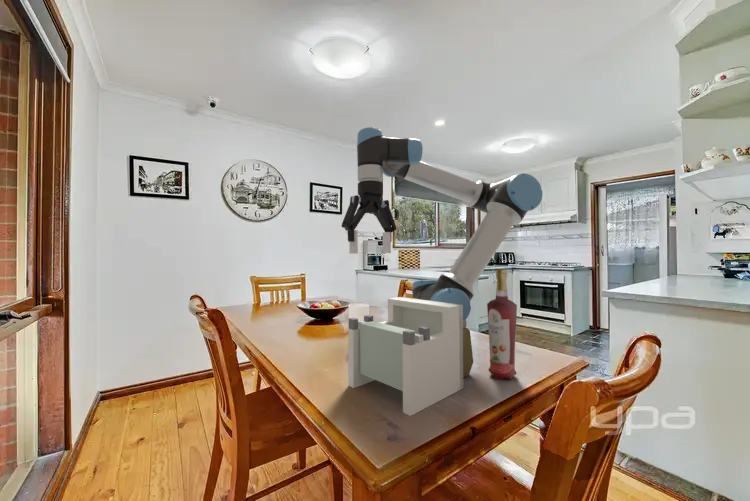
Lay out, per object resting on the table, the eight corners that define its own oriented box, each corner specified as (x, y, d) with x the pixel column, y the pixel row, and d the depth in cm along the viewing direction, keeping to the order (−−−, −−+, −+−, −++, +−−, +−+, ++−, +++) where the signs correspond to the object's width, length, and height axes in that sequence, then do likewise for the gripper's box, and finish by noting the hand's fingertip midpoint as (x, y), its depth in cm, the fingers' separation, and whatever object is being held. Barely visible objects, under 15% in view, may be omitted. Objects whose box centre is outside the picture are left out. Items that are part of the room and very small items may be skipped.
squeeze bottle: (436, 370, 88) (436, 305, 88) (460, 366, 91) (459, 303, 91) (454, 381, 80) (454, 310, 81) (480, 376, 84) (479, 308, 84)
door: (364, 366, 82) (364, 319, 82) (427, 390, 67) (427, 333, 67) (352, 369, 79) (351, 321, 79) (415, 396, 64) (414, 337, 64)
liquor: (523, 377, 83) (522, 270, 83) (506, 384, 79) (505, 270, 79) (498, 369, 89) (498, 268, 89) (481, 374, 85) (480, 269, 85)
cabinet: (401, 366, 91) (401, 296, 91) (463, 388, 77) (462, 304, 77) (348, 385, 78) (348, 304, 78) (410, 416, 63) (409, 315, 64)
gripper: (389, 189, 106) (390, 253, 106) (328, 177, 89) (329, 253, 89) (406, 185, 101) (407, 252, 101) (345, 172, 84) (346, 253, 83)
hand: (371, 253), depth 95 cm, fingers open, 13 cm apart
